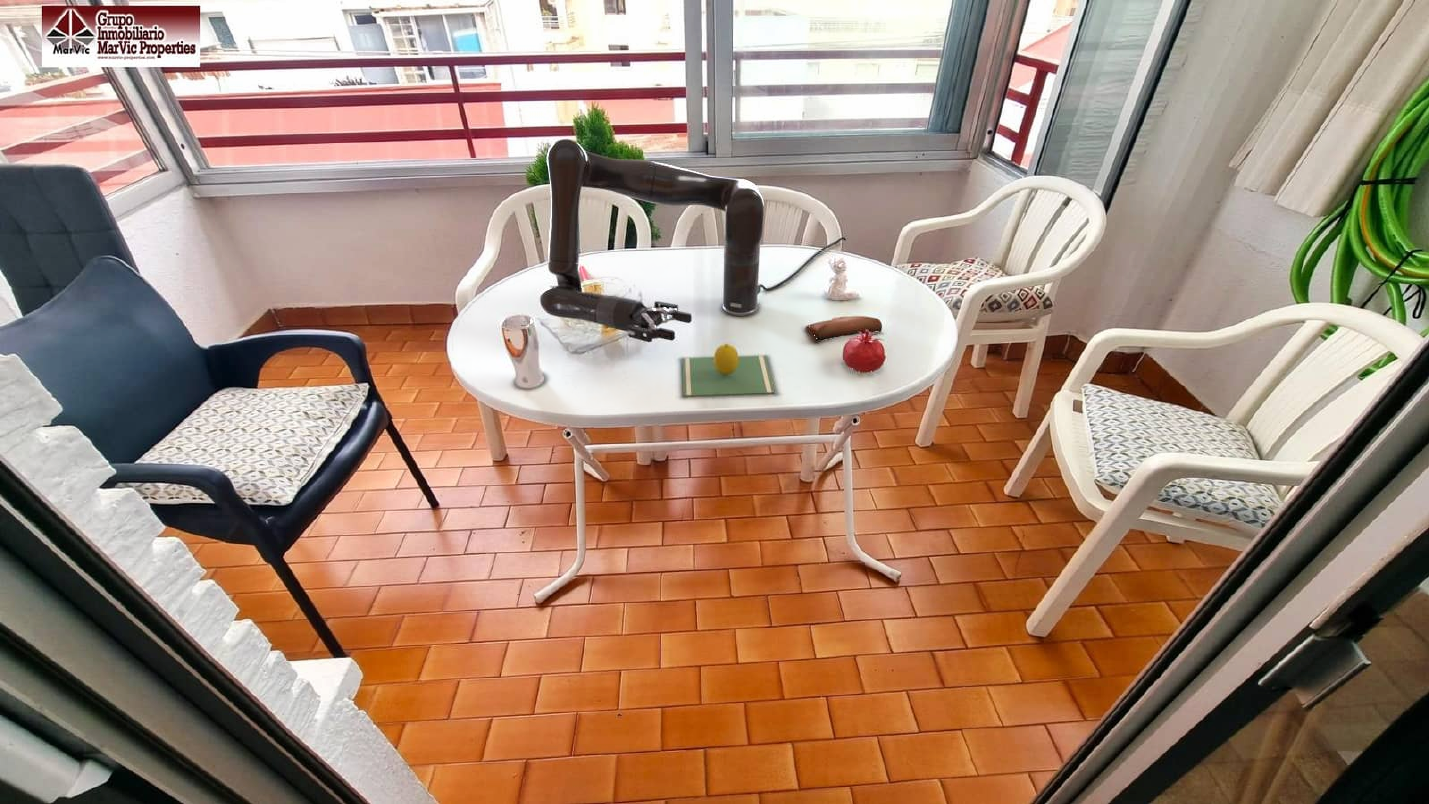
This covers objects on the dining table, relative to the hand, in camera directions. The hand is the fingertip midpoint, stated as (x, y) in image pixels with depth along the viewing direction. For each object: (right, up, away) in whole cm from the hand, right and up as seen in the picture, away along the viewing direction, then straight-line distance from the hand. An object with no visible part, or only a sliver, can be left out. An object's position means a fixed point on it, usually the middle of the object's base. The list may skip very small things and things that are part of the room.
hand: (682, 327), depth 129 cm
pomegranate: (+42, -9, +6) cm, 43 cm away
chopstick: (-30, +16, +39) cm, 52 cm away
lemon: (+10, -11, +3) cm, 15 cm away
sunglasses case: (+40, +1, +19) cm, 44 cm away
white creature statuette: (+42, +13, +35) cm, 57 cm away
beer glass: (-35, -12, +1) cm, 37 cm away
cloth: (+10, -11, +3) cm, 15 cm away
